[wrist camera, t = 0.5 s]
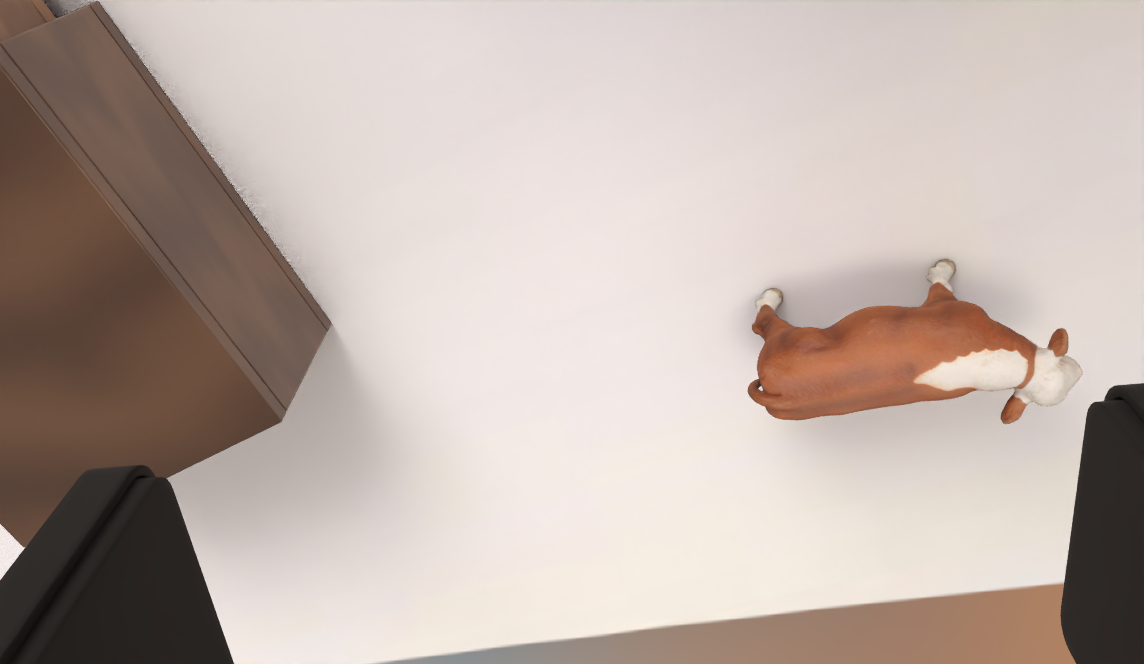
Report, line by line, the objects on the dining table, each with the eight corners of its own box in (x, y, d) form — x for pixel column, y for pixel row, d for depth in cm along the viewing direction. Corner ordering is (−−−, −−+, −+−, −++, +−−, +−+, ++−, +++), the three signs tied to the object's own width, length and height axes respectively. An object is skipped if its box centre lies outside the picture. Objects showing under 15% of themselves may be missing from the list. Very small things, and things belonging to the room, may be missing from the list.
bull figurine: (1027, 333, 48) (1103, 430, 41) (734, 359, 49) (757, 458, 42) (1036, 246, 46) (1117, 332, 39) (730, 275, 47) (754, 363, 40)
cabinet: (-142, 154, 45) (-292, 227, 38) (97, 0, 42) (-14, 47, 34) (108, 437, 52) (23, 548, 44) (332, 323, 49) (281, 422, 41)
